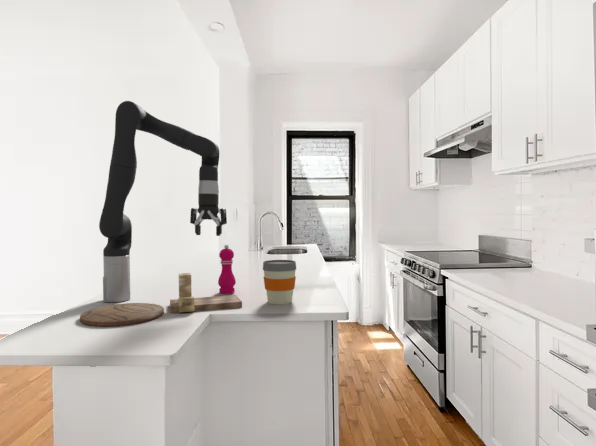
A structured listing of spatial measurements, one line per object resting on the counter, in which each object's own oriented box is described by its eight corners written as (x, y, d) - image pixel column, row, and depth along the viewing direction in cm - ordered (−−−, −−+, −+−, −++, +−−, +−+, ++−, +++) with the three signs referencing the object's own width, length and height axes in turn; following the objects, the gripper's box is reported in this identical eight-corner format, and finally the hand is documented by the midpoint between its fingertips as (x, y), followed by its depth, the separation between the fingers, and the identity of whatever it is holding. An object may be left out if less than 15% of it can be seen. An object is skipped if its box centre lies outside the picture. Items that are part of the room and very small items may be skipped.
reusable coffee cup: (292, 306, 146) (292, 264, 146) (258, 304, 148) (258, 263, 148) (299, 298, 158) (299, 260, 158) (268, 297, 161) (267, 259, 160)
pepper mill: (234, 294, 167) (233, 245, 167) (216, 294, 168) (215, 245, 167) (237, 290, 175) (236, 244, 174) (220, 290, 175) (219, 244, 174)
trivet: (115, 332, 116) (115, 326, 116) (62, 321, 129) (62, 315, 128) (180, 313, 138) (180, 307, 138) (130, 305, 150) (129, 300, 150)
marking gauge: (178, 312, 136) (178, 278, 135) (177, 303, 148) (176, 272, 148) (194, 311, 137) (194, 277, 137) (191, 302, 150) (191, 271, 150)
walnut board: (170, 312, 137) (170, 306, 137) (170, 305, 149) (170, 299, 149) (242, 307, 145) (241, 301, 145) (236, 300, 156) (236, 294, 156)
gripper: (186, 192, 155) (186, 235, 155) (220, 192, 151) (220, 236, 152) (196, 193, 162) (196, 234, 163) (229, 193, 158) (229, 235, 159)
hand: (208, 235), depth 157 cm, fingers open, 8 cm apart
